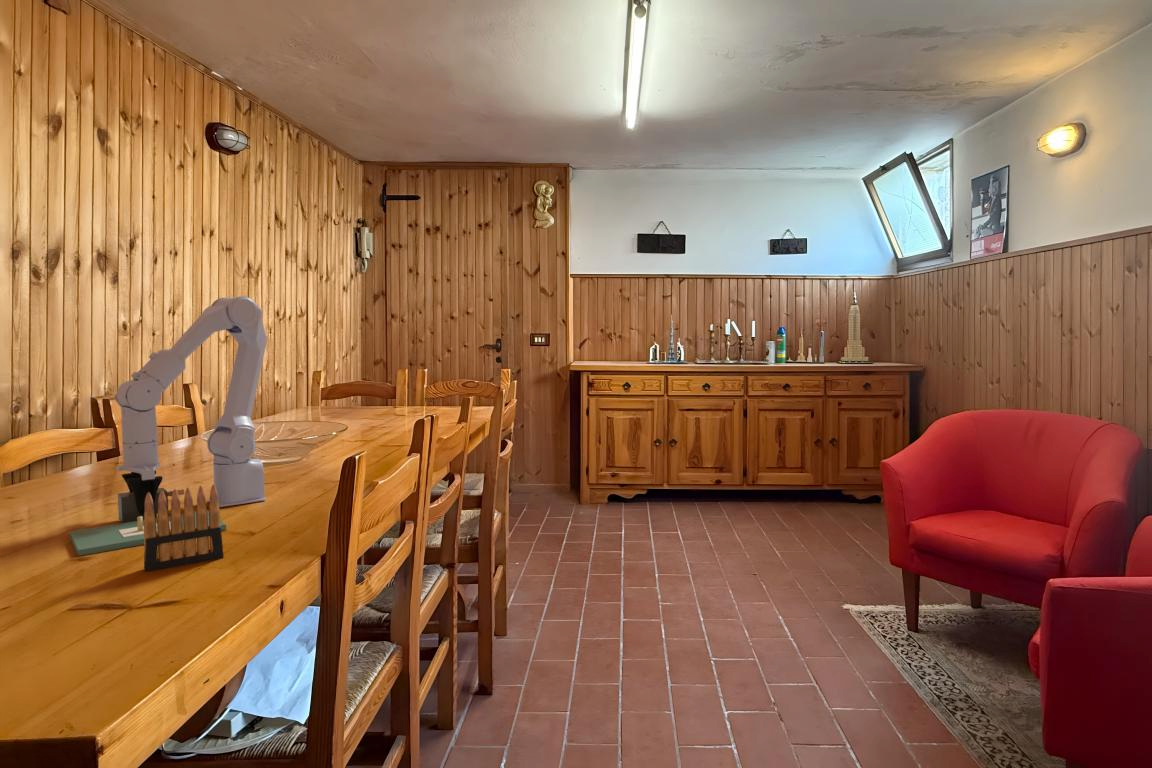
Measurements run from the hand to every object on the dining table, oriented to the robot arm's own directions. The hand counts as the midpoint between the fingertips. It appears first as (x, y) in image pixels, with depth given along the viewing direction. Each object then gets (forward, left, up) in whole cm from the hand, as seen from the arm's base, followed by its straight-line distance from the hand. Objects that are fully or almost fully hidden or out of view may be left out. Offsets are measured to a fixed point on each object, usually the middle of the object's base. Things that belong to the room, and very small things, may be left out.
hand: (143, 510), depth 130 cm
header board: (+1, +12, -2) cm, 12 cm away
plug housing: (-2, 0, -1) cm, 2 cm away
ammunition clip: (0, +34, -2) cm, 34 cm away
